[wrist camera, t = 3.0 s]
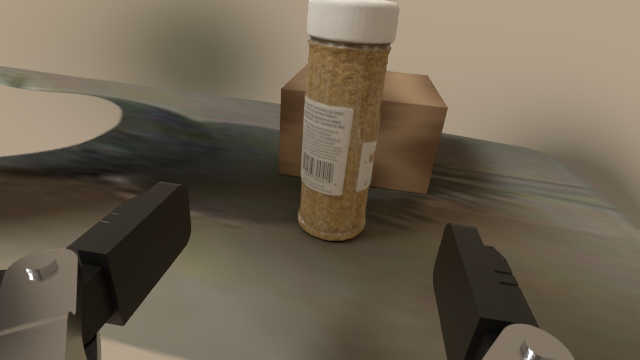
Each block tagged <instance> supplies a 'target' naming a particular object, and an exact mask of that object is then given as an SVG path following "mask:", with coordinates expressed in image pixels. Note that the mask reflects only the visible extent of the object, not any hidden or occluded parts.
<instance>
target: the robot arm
mask: <svg viewBox="0 0 640 360" xmlns="http://www.w3.org/2000/svg"><path fill="white" fill-rule="evenodd" d="M190 234H191V220H190V210H189V200H188V191H187V188H186V186H185V185H182V184H175V183H168V182H158V183H156V184H155V185H154V186H153V187H152V188H150V189H149V190H148V191H147V192H146V193H144V194H143V195H141V194H140V195H138V196H136V197H134V198H131V199H129V200H127V201H125V202H123V203H122V204H121V205H119V206H118V207H117V208H116V209H114V210H113V211H112V214H111V213H109V214H108V215H107V216H106V217H104V218H103V219H102V222H100V221H99V222H98V223H97V224H96V225H94V226H93V227H92V228H91V229H89V230H88V231H87V232H86V233H84V234H83V235H82V236H81V237H79V238H78V239H77V240H76V241H74V242H73V243H72V244H71V245H69V246H68V247H67V248H66V249H63V248H53V249H46V250H41V251H38V252H34V253H32V254H29V255H27V256H25V257H23V258H21V259H19V260H18V261H16V262H15V263H13V264H12V265H11V266H10V267H9V268H8V269H7V270H0V360H101V339H100V334H99V330H100V329H101V327H102V326H103V325H104V324H105V323H109V324H114V325H120V326H124V325H125V324H126V322H127V321H128V320H129V318H130V317H131V316H132V315H133V313H134V312H135V311H136V309H137V308H138V307H139V306H140V304H141V303H142V302H143V300H144V299H145V298H146V297H147V295H148V294H149V293H150V291H151V290H152V289H153V288H154V286H155V285H156V284H157V282H158V281H159V280H160V279H161V277H162V276H163V275H164V273H165V272H166V271H167V270H168V268H169V267H170V266H171V264H172V263H173V262H174V261H175V259H176V258H177V257H178V255H179V254H180V253H181V252H182V250H183V249H184V248H185V246H186V245H187V243H188V241H189V238H190ZM433 286H434V291H435V296H436V302H437V307H438V312H439V317H440V323H441V328H442V333H443V339H444V344H445V349H446V354H447V360H574V358H573V356H572V354H571V353H570V351H569V350H568V349H567V348H566V347H565V346H564V345H563V344H562V343H561V342H560V341H559V340H558V339H556V338H555V337H554V336H552V335H551V334H549V333H547V332H546V331H544V330H542V329H540V328H539V326H538V324H537V322H536V320H535V318H534V316H533V314H532V312H531V310H530V308H529V306H528V304H527V302H526V300H525V298H524V296H523V293H522V291H521V289H520V288H519V287H518V283H517V281H516V279H515V277H514V276H512V271H511V269H510V267H509V265H508V263H507V261H506V259H505V258H504V257H503V256H502V255H501V254H500V253H499V252H498V251H497V250H496V249H495V248H494V247H492V246H485V245H483V243H482V240H481V238H480V236H479V233H478V231H477V229H476V227H473V226H466V225H459V224H452V223H448V224H447V225H446V227H445V230H444V233H443V237H442V241H441V244H440V248H439V251H438V255H437V258H436V262H435V266H434V272H433Z"/></svg>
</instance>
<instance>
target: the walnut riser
mask: <svg viewBox="0 0 640 360" xmlns="http://www.w3.org/2000/svg"><path fill="white" fill-rule="evenodd" d="M307 74H308V64H307V65H306V66H305V67H304V68H303V69H302V70H301V71H300V72H299V73H298V74H296V76H294V77H293V78H292V79H291V80H290V81H289V82H288V83H287V84H286V85H285V86H284V87H283V88H282V89H281V113H280V147H279V174H283V175H290V176H297V177H301V161H302V141H303V123H304V106H305V94H306V90H307V78H308V75H307ZM447 108H448V107H447V106H446V104H445V103H444V101H443V99H442V98H441V96H440V95H439V93H438V92H437V90H436V88H435V87H434V85H433V84H432V82H431V80H430V79H429V77H428V76H427V75H417V74H409V73H399V72H390V71H386V74H385V81H384V87H383V95H382V100H381V106H380V121H379V128H378V135H377V142H376V149H375V156H374V163H373V169H372V176H371V182H370V185H369V186H371V187H378V188H385V189H393V190H400V191H407V192H415V193H422V194H427V191H428V186H429V182H430V178H431V174H432V170H433V166H434V162H435V158H436V154H437V150H438V145H439V141H440V137H441V133H442V129H443V125H444V121H445V117H446V113H447Z"/></svg>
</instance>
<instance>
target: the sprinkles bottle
mask: <svg viewBox="0 0 640 360" xmlns="http://www.w3.org/2000/svg"><path fill="white" fill-rule="evenodd" d="M398 15H399V6H398V4H397V3H395V2H389V1H386V0H309V7H308V19H307V34H308V35H309V36H310V37H311V39H310V40H308V43H309V46H310V49H309V58H308V74H307V75H308V78H307V90H306V94H305V106H304V123H303V141H302V161H301V179H302V186H301V205H300V209H299V212H298V222H299V225H300V226H301V227H302V229H304V230H305V231H306V232H308V233H309V234H311V235H313V236H315V237H318V238H320V239H324V240H330V241H336V240H346V239H351V238H353V237H355V236H356V235H357V234H359V233H360V232H361V231H362V230H363V229H364V226H365V223H366V218H365V210H366V203H367V195H368V189H369V185H370V182H371V176H372V169H373V163H374V156H375V149H376V142H377V135H378V128H379V121H380V106H381V100H382V95H383V87H384V81H385V74H386V65H387V63H388V61H387V60H388V54H389V52H390V50H391V46H390V44H391V43H393V42H394V41H395V37H396V31H397V24H398Z"/></svg>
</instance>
